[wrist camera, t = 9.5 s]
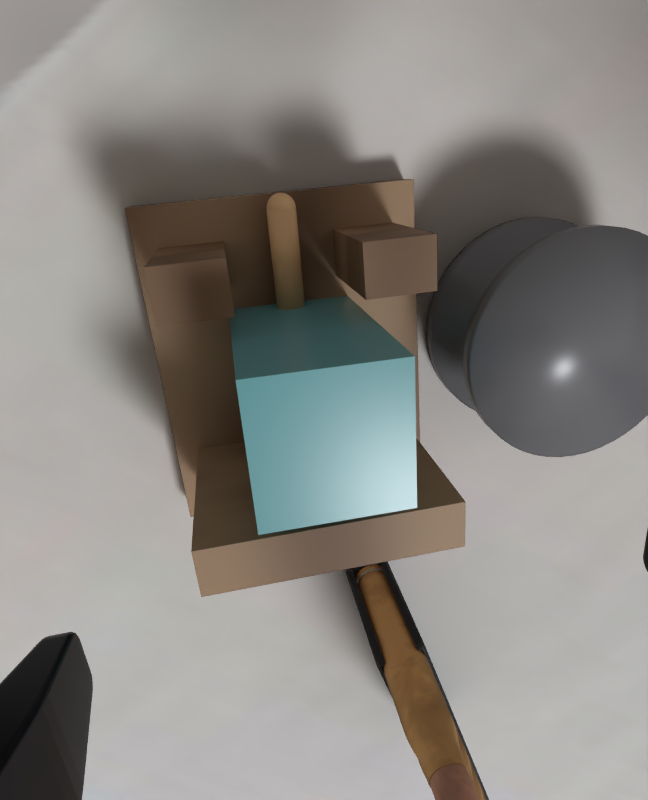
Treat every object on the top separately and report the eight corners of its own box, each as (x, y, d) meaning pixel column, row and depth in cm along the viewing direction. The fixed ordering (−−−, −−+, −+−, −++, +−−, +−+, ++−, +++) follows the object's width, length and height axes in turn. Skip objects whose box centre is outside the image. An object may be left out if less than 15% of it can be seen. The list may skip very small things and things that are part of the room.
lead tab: (340, 187, 18) (412, 191, 11) (354, 404, 20) (417, 508, 14) (212, 198, 17) (211, 210, 11) (244, 419, 20) (258, 535, 13)
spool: (622, 207, 21) (710, 213, 17) (601, 397, 23) (672, 438, 20) (424, 229, 20) (472, 241, 16) (427, 425, 22) (469, 473, 19)
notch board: (403, 179, 19) (501, 179, 12) (412, 465, 23) (488, 576, 17) (129, 206, 18) (80, 223, 11) (191, 502, 22) (181, 637, 15)
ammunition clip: (344, 568, 24) (449, 888, 13) (383, 551, 24) (519, 856, 13) (413, 718, 29) (536, 1052, 18) (446, 704, 29) (589, 1028, 18)
